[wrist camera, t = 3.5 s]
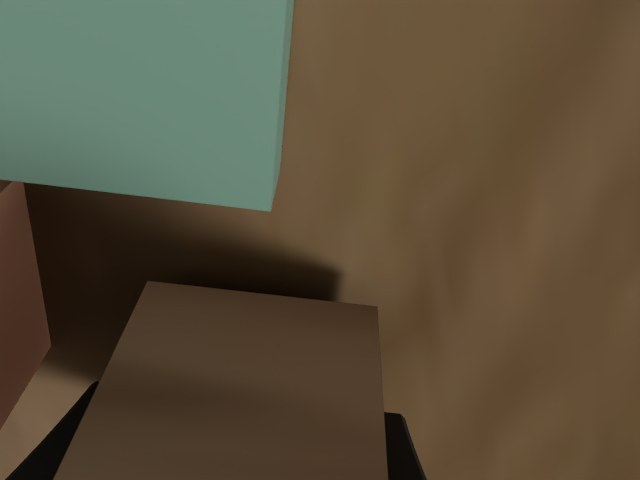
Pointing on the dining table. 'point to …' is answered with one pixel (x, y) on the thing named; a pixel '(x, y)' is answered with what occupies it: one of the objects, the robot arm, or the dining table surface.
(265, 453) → the walnut brick
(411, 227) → the dining table surface
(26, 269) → the terracotta brick
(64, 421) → the robot arm
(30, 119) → the base plate
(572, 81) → the dining table surface
